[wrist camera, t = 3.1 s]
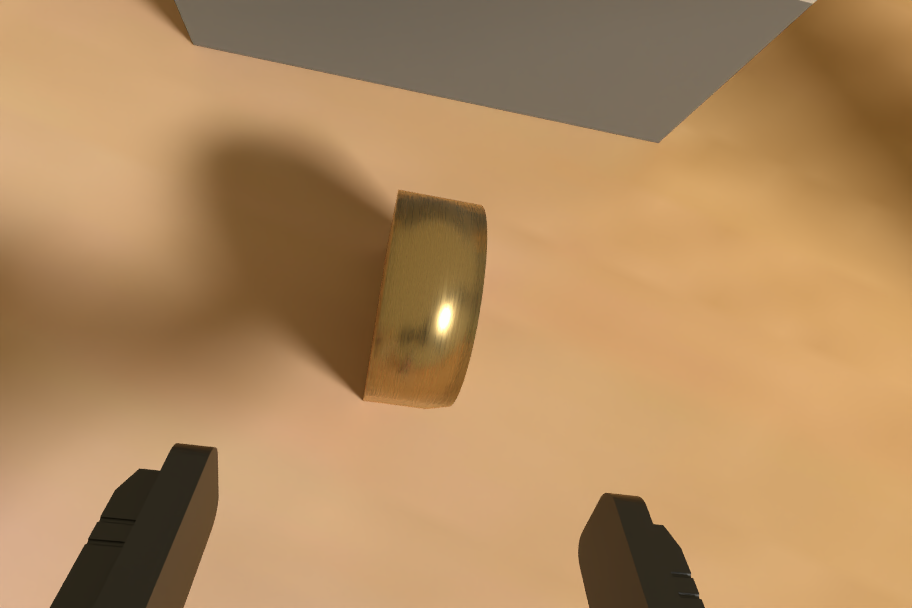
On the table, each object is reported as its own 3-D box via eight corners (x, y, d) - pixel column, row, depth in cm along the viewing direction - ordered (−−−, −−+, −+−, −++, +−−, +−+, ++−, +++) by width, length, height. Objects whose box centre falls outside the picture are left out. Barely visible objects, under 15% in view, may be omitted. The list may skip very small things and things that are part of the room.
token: (446, 258, 23) (497, 171, 15) (425, 409, 22) (469, 404, 14) (387, 248, 23) (405, 153, 15) (362, 400, 22) (368, 390, 13)
